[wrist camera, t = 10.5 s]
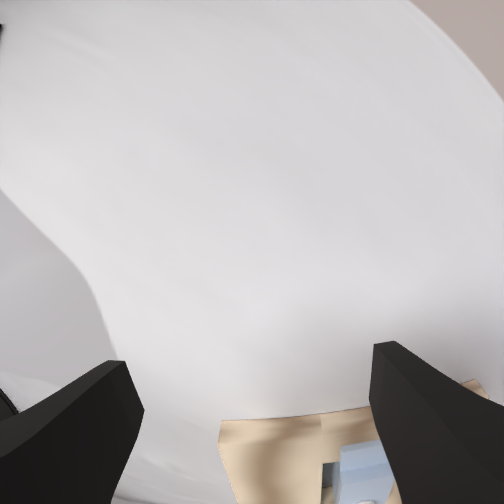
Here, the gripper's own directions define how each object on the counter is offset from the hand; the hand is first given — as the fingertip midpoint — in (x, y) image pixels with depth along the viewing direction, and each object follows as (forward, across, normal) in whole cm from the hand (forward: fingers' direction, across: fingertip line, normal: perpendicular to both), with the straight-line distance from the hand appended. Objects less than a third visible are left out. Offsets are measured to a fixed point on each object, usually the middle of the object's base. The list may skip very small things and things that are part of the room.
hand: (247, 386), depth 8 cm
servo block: (+10, -6, +18) cm, 21 cm away
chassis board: (+9, -6, +18) cm, 21 cm away
